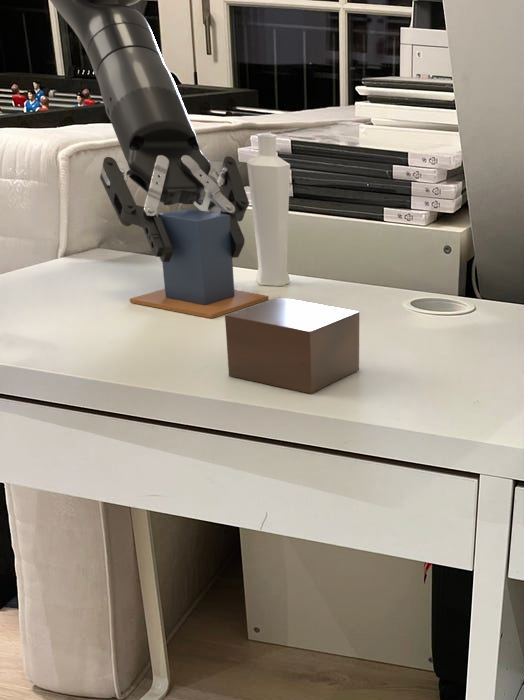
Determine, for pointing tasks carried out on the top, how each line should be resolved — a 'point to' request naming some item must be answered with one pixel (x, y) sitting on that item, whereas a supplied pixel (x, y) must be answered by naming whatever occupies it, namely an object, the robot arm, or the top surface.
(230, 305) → the cork mat
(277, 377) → the base block
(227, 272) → the top block
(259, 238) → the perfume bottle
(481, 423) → the top surface
